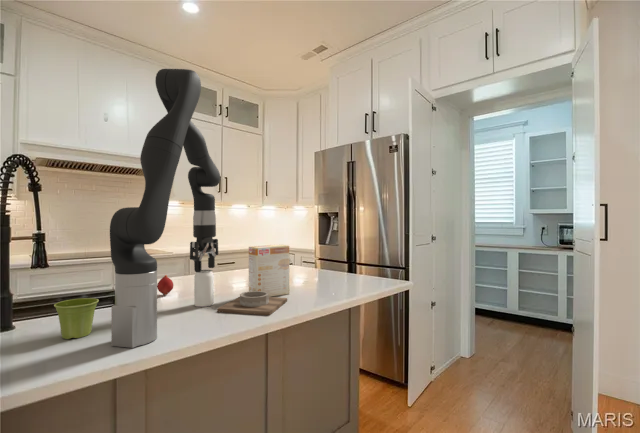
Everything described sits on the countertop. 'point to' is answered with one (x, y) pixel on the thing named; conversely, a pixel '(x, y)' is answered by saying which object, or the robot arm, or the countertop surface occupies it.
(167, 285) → the onion
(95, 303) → the plant pot
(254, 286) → the coffeecake box
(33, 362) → the countertop surface
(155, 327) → the robot arm
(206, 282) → the can
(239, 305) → the board
